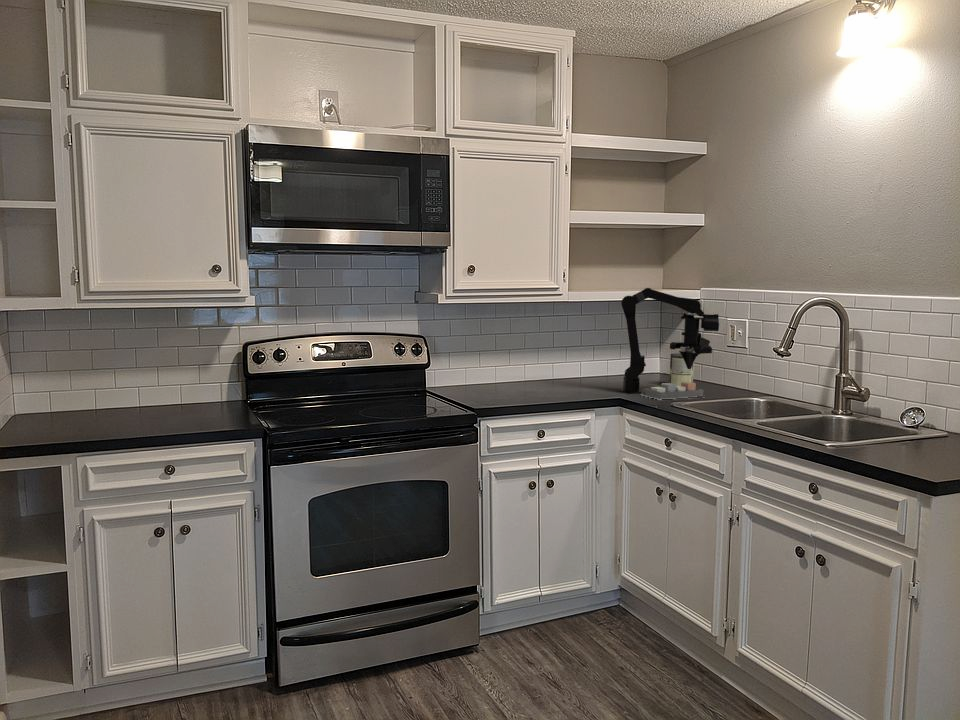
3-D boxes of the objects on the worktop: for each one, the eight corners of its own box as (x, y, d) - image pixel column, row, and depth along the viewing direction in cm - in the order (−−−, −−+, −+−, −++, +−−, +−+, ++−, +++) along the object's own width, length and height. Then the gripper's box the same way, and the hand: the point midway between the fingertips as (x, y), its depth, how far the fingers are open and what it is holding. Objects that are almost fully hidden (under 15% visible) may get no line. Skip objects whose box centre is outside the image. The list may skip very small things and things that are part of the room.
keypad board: (640, 395, 313) (640, 388, 313) (686, 393, 324) (686, 385, 324) (658, 400, 303) (659, 392, 303) (705, 397, 314) (705, 389, 314)
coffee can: (663, 385, 345) (665, 353, 343) (684, 384, 348) (686, 353, 346) (676, 388, 335) (678, 356, 333) (697, 388, 338) (699, 355, 336)
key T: (680, 389, 318) (681, 382, 317) (688, 389, 320) (688, 382, 319) (687, 391, 314) (688, 383, 314) (695, 390, 316) (695, 383, 316)
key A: (650, 394, 311) (650, 387, 310) (658, 394, 313) (658, 386, 312) (657, 396, 307) (657, 388, 307) (665, 395, 309) (665, 388, 309)
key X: (660, 390, 313) (661, 383, 313) (668, 390, 315) (669, 383, 314) (667, 392, 309) (668, 385, 309) (675, 392, 311) (675, 384, 311)
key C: (670, 393, 316) (671, 386, 315) (678, 392, 317) (678, 385, 317) (677, 395, 312) (678, 387, 312) (685, 394, 314) (685, 387, 314)
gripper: (723, 332, 309) (721, 371, 311) (690, 328, 326) (688, 365, 328) (702, 332, 304) (699, 372, 306) (669, 328, 321) (667, 366, 323)
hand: (689, 369), depth 316 cm, fingers closed
